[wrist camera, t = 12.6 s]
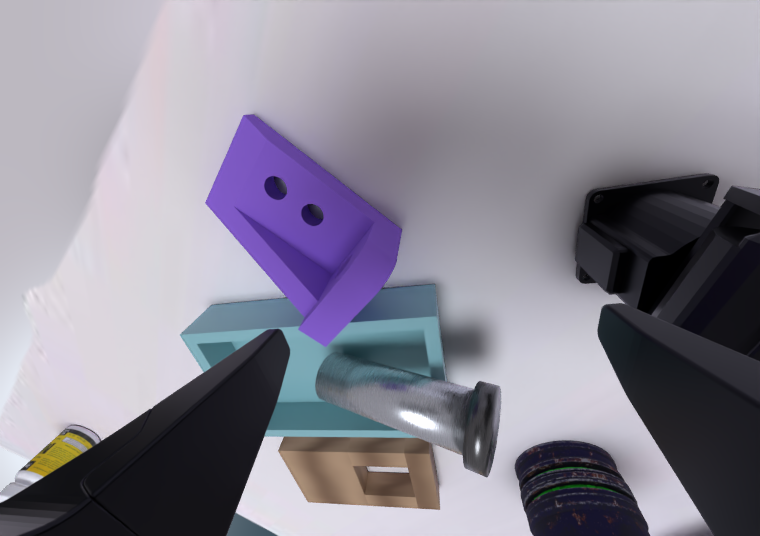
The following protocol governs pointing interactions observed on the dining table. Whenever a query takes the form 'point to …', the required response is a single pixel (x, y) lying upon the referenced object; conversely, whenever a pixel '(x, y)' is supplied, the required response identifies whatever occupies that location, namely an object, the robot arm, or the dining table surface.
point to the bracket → (303, 229)
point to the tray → (359, 338)
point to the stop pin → (417, 405)
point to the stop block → (363, 470)
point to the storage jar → (576, 492)
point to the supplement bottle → (52, 458)
